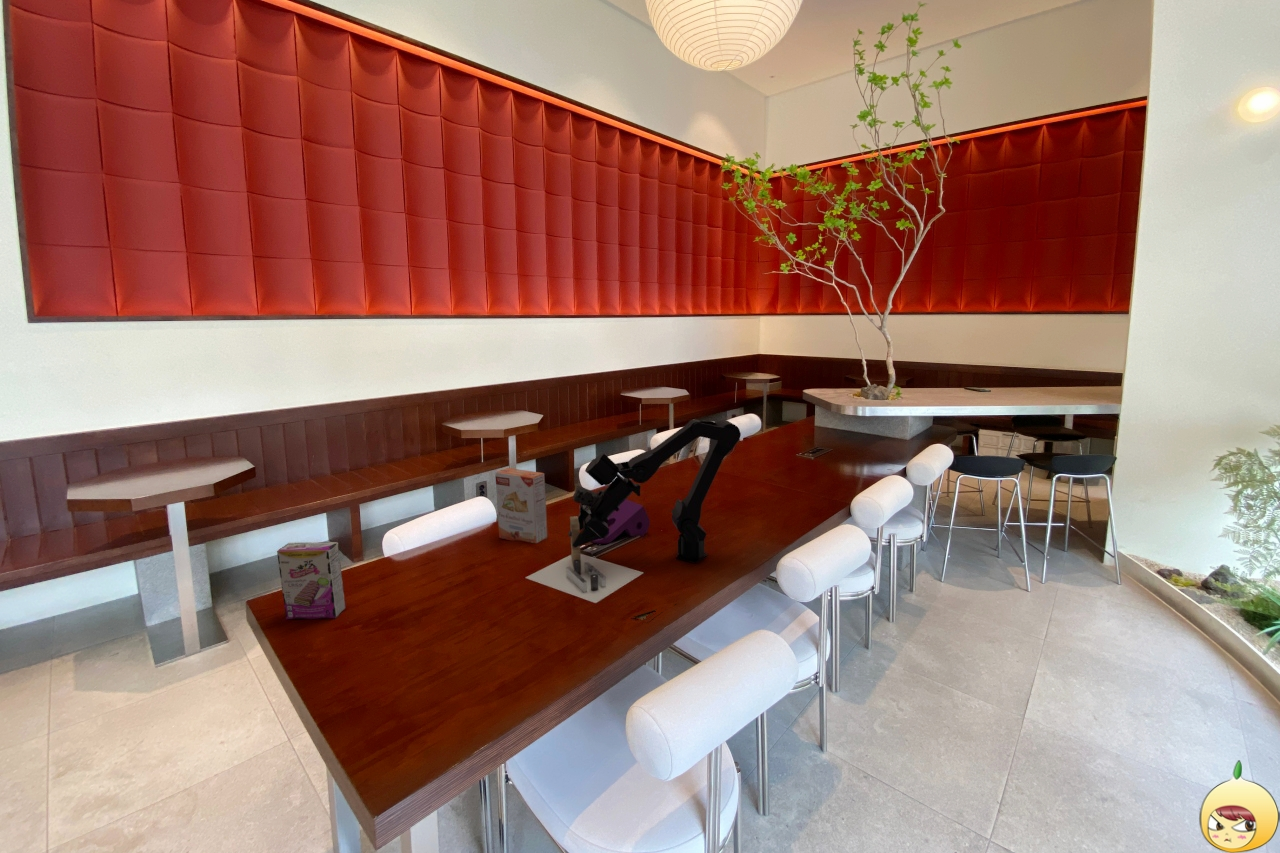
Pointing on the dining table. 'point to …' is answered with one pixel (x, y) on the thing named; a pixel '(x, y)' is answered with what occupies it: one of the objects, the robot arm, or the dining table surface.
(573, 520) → the wooden block
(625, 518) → the mounting bracket
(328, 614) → the candy bar box
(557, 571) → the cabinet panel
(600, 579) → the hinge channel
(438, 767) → the dining table surface
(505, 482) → the cracker box
